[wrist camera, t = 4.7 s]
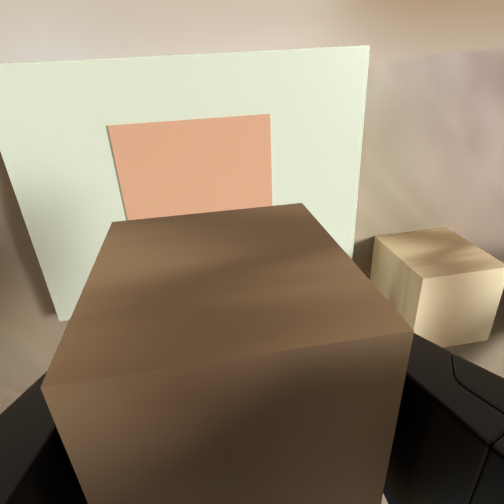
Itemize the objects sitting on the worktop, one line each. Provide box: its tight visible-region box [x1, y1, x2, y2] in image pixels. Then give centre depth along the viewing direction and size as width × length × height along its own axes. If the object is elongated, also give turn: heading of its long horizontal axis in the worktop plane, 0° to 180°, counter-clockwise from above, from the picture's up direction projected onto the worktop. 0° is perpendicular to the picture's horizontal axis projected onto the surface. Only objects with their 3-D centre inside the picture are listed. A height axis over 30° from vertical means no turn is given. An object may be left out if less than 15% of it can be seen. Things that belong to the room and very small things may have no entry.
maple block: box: [370, 228, 504, 348], centre depth 21 cm, size 4×4×5 cm
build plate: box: [0, 45, 370, 321], centre depth 18 cm, size 16×12×1 cm
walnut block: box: [40, 203, 414, 504], centre depth 8 cm, size 4×4×5 cm
